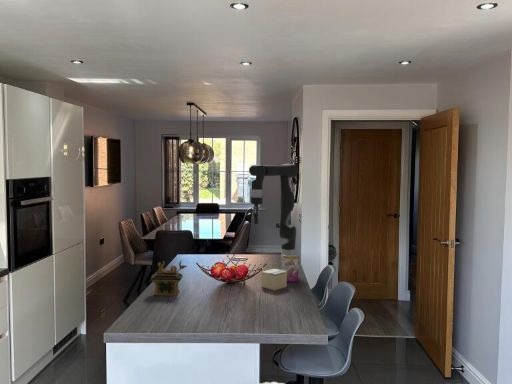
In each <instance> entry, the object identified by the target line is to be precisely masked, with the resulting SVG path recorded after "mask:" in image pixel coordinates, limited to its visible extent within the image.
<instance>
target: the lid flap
mask: <svg viewBox="0 0 512 384" xmlns="http://www.w3.org/2000/svg"><path fill="white" fill-rule="evenodd" d="M284 272H287V271H284V270H281V269H278V268H271V269H266V270H264V271H261V274H262V273H267V274H272V275H277V274H281V273H284Z"/></svg>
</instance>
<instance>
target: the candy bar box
mask: <svg viewBox="0 0 512 384" xmlns="http://www.w3.org/2000/svg"><path fill="white" fill-rule="evenodd" d="M299 264H300V256H299V255H296V254H295V255H282V264H281V263H280V270H284V271H287V282H293V283H298V282H299V271H300V270H299V267H300V266H299Z"/></svg>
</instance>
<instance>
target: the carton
mask: <svg viewBox="0 0 512 384" xmlns="http://www.w3.org/2000/svg"><path fill="white" fill-rule="evenodd" d="M287 283H288V281H287V272H284V273H281V274H277V275H272V274H267V273H262V272H261V288H262V289H265V290H270V291H278V290H281V289H284V288H287Z"/></svg>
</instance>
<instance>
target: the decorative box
mask: <svg viewBox="0 0 512 384" xmlns="http://www.w3.org/2000/svg"><path fill="white" fill-rule="evenodd" d="M157 265H158V269H157V271H156V272H155V273H153V274H152V276H151V277H150V280H151V281H152V282H153V283H154V284H155V285H154V286H155V290H154V292H153V295H154V296H164V297H165V296H168V297H169V296H172V297H174V296H175V297H176V296H178V295H179V293H180V290H179V282H180V281H181V280H182V278H183V276H184V275H183V274H182V273H180V270H183V269H185V268H187V267H188V265H182V260H180V261H179V263H178V266H179V269H178V268H177V266H176V265H172V266H171V267H170V269H164V266H165V260H162V263H161V262H157Z"/></svg>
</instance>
